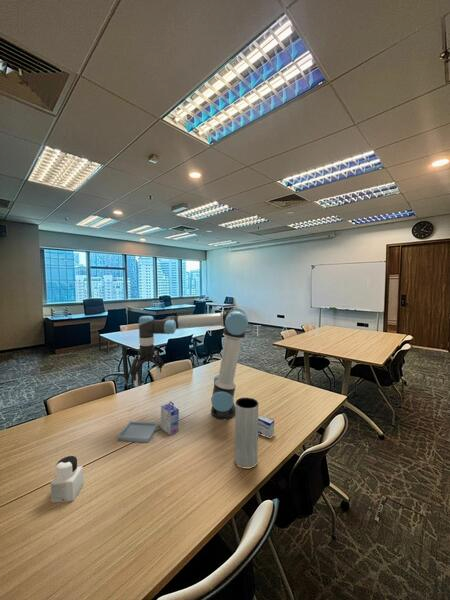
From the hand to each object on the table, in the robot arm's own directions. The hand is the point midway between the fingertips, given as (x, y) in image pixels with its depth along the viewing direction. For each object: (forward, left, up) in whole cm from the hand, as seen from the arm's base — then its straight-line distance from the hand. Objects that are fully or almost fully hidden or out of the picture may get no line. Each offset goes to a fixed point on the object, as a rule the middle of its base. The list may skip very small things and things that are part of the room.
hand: (147, 382), depth 140 cm
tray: (+1, +9, -24) cm, 25 cm away
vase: (-55, +24, -24) cm, 64 cm away
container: (+11, +48, -24) cm, 55 cm away
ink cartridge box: (-14, +4, -24) cm, 28 cm away
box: (-65, +3, -24) cm, 69 cm away
